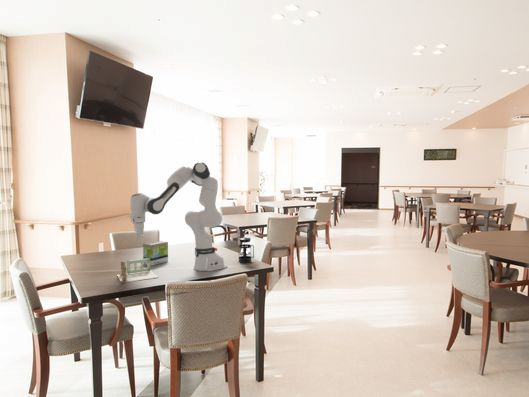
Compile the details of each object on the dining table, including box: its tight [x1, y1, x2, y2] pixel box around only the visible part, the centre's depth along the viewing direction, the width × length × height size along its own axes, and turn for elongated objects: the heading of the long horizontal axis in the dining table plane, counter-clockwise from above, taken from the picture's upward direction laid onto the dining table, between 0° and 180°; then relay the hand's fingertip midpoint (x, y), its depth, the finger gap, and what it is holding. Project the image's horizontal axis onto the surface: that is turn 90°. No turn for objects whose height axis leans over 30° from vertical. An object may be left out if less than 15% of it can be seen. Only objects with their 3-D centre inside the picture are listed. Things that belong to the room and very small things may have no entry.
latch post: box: [119, 265, 130, 284], centre depth 218 cm, size 4×4×9 cm
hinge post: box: [118, 260, 127, 276], centre depth 231 cm, size 4×4×9 cm
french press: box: [238, 229, 255, 264], centre depth 265 cm, size 12×9×23 cm
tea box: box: [142, 240, 169, 266], centre depth 265 cm, size 15×10×15 cm
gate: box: [126, 258, 152, 274], centre depth 236 cm, size 14×2×8 cm, turn 120°
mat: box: [116, 270, 159, 283], centre depth 229 cm, size 21×19×1 cm
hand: (138, 239), depth 240 cm, fingers closed
